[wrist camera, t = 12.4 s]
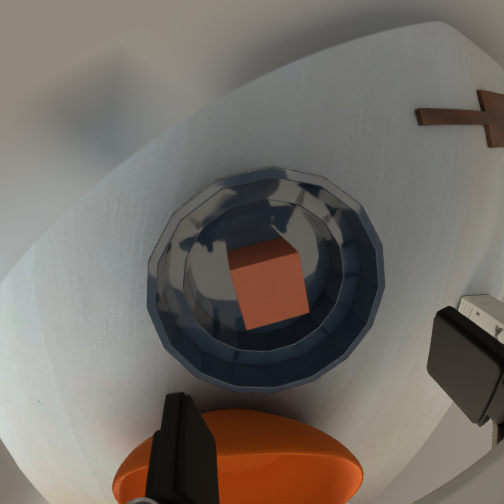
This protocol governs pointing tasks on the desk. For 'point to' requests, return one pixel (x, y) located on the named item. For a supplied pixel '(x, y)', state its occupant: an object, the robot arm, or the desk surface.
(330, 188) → the faceted gray tray
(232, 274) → the block
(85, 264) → the desk surface
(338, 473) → the bowl
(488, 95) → the brown paddle
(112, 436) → the desk surface
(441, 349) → the robot arm
